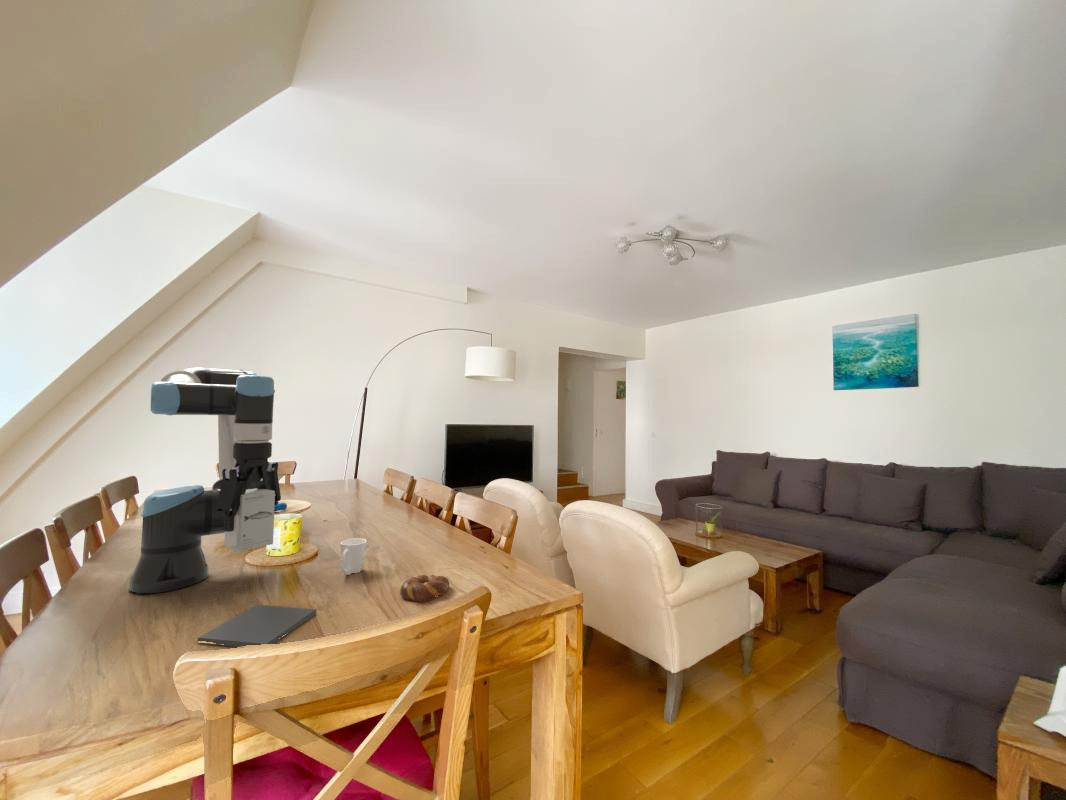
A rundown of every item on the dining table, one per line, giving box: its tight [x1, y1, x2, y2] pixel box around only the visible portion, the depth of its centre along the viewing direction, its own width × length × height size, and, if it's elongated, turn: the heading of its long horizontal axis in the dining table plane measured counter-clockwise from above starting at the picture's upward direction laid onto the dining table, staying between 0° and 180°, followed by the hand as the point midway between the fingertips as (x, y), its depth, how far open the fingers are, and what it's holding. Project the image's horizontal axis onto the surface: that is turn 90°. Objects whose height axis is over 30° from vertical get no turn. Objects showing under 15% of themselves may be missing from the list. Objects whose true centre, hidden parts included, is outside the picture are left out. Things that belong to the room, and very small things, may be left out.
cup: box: [339, 537, 367, 576], centre depth 114 cm, size 7×10×8 cm
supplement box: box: [223, 488, 275, 553], centre depth 98 cm, size 7×7×13 cm
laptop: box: [197, 604, 317, 648], centre depth 84 cm, size 14×14×1 cm
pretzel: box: [399, 574, 450, 603], centre depth 102 cm, size 12×11×4 cm
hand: (249, 538), depth 97 cm, fingers closed on supplement box, 9 cm apart
